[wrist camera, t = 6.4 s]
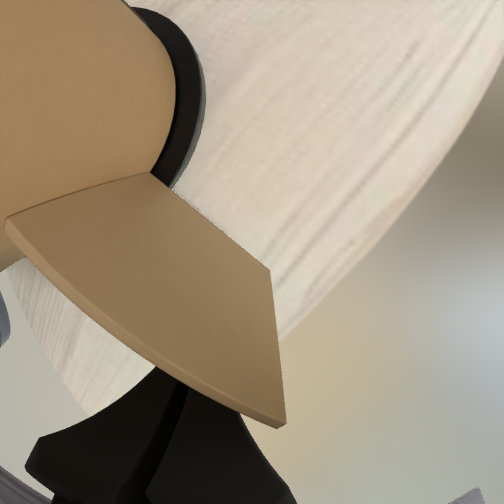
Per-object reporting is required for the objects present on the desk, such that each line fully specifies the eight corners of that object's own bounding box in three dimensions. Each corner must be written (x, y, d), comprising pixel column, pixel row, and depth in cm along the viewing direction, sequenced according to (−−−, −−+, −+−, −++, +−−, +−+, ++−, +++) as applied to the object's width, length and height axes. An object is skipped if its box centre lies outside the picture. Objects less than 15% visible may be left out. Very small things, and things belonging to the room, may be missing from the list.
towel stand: (27, 232, 13) (17, 237, 12) (28, 52, 8) (19, 49, 7) (206, 229, 13) (203, 236, 12) (212, -5, 8) (209, -14, 7)
